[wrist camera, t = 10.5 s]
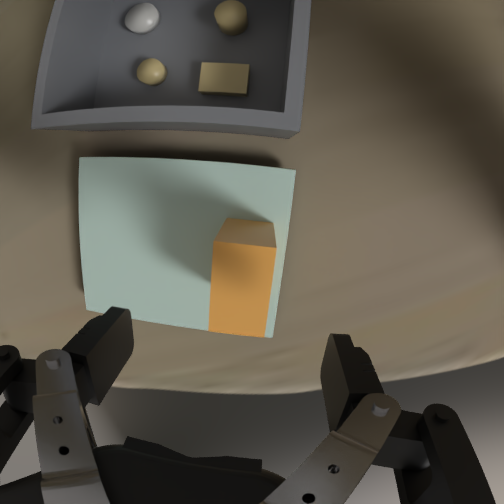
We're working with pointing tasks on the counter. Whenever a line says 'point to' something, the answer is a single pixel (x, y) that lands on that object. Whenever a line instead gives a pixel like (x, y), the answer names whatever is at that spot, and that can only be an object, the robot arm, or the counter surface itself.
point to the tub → (174, 66)
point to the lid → (185, 240)
